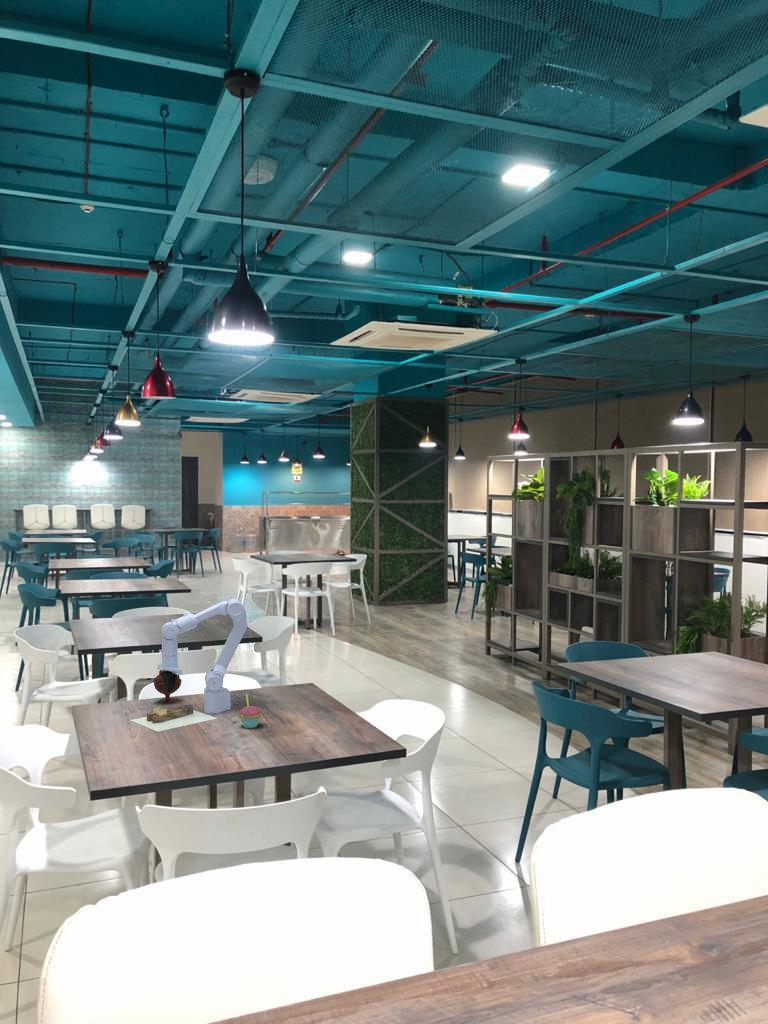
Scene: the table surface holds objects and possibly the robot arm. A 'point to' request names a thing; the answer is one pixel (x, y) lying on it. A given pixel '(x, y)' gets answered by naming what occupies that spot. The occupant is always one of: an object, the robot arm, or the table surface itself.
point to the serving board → (174, 721)
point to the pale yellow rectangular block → (160, 711)
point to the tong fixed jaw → (189, 707)
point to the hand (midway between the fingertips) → (169, 691)
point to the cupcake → (250, 715)
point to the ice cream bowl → (161, 687)
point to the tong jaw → (170, 715)
